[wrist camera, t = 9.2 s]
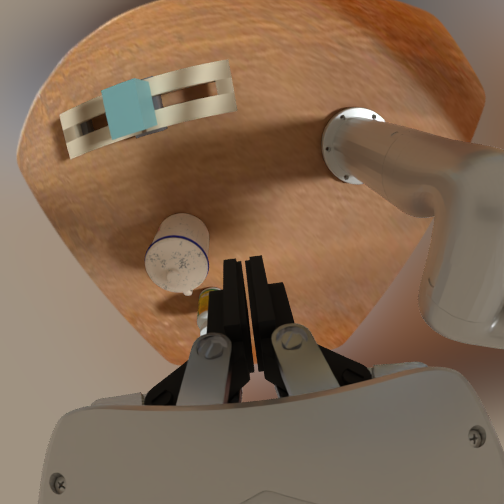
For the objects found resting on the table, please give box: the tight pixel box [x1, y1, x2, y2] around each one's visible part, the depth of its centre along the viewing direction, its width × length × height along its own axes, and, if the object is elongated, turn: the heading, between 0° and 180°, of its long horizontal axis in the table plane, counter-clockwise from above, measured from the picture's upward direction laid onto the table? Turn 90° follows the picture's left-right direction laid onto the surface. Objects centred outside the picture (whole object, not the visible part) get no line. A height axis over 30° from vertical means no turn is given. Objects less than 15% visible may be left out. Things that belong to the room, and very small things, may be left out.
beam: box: [60, 60, 237, 159], centre depth 31 cm, size 24×8×5 cm, turn 99°
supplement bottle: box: [197, 287, 221, 336], centre depth 47 cm, size 5×5×10 cm
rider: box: [101, 78, 158, 140], centre depth 27 cm, size 4×6×8 cm, turn 9°
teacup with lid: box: [145, 213, 209, 296], centre depth 40 cm, size 12×9×12 cm
